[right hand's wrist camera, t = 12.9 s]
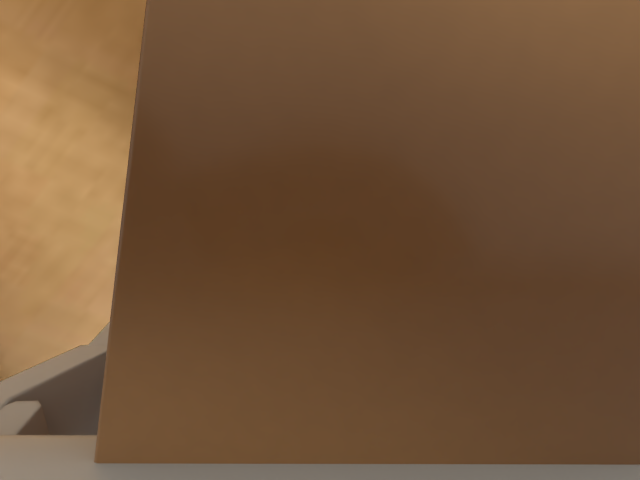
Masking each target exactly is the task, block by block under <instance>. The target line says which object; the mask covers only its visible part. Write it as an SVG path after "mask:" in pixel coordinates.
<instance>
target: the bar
mask: <svg viewBox="0 0 640 480" xmlns="http://www.w3.org/2000/svg"><path fill="white" fill-rule="evenodd" d="M94 462H95V463H135V464H582V465H640V0H147V2H146V11H145V19H144V28H143V37H142V46H141V54H140V63H139V72H138V81H137V89H136V98H135V107H134V116H133V124H132V133H131V142H130V151H129V160H128V168H127V177H126V186H125V195H124V203H123V212H122V221H121V230H120V238H119V247H118V256H117V265H116V273H115V282H114V291H113V300H112V308H111V317H110V326H109V335H108V344H107V352H106V361H105V370H104V379H103V387H102V396H101V405H100V414H99V422H98V431H97V440H96V449H95V457H94Z"/></svg>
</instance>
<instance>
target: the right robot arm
mask: <svg viewBox="0 0 640 480" xmlns="http://www.w3.org/2000/svg"><path fill="white" fill-rule="evenodd" d="M109 326H110V322H109V323H108V324H107V325H106V326H105V327H104V328H103V329H102V331H101V332H100V333H99V334H98V335H97V336H96V337H95V338H94V339H93V340H92V341H91V343H90V344H89V345H80V346H78V347H76V348H74V349H72V350H69V351H67V352H65V353H63V354H60V355H58V356H56V357H54V358H51V359H49V360H47V361H45V362H42V363H40V364H38V365H36V366H34V367H31V368H29V369H27V370H25V371H22V372H20V373H18V374H16V375H13V376H11V377H9V378H7V379H4V380H2V381H0V480H640V465H582V464H135V463H95V462H94V457H95V449H96V440H97V431H98V422H99V414H100V405H101V396H102V387H103V379H104V370H105V361H106V352H107V344H108V335H109Z"/></svg>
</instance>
